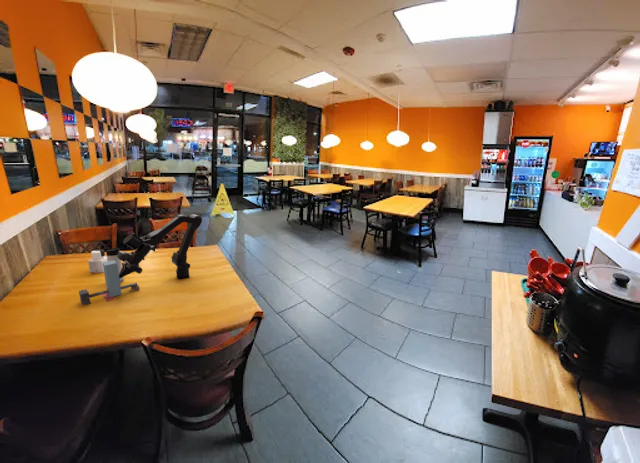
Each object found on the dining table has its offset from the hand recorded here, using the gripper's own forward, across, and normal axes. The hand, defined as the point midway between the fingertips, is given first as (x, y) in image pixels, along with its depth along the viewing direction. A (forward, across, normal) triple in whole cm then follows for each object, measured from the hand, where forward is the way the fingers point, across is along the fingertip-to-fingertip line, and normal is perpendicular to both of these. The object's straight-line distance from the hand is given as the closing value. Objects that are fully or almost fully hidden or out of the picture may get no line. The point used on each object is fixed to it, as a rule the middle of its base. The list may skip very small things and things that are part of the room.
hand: (118, 277), depth 150 cm
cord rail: (+9, 0, +3) cm, 10 cm away
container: (+6, -42, +6) cm, 43 cm away
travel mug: (+4, -17, +8) cm, 20 cm away
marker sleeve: (+8, 0, +4) cm, 9 cm away
